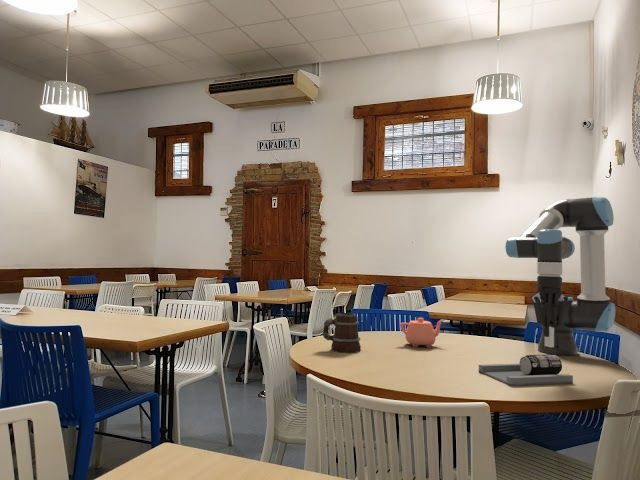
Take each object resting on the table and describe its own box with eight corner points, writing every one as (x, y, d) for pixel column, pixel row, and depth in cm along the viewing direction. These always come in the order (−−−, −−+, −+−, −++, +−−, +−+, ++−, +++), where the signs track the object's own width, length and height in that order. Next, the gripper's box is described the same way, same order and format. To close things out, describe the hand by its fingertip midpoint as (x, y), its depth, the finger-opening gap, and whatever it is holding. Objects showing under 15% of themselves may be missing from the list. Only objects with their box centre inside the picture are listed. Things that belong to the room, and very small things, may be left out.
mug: (356, 347, 202) (357, 312, 203) (362, 353, 190) (363, 315, 191) (320, 347, 200) (320, 311, 201) (324, 353, 188) (324, 315, 189)
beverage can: (548, 370, 162) (517, 371, 160) (550, 351, 162) (519, 352, 159) (562, 377, 156) (530, 378, 153) (564, 357, 156) (532, 358, 153)
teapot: (448, 348, 204) (449, 320, 205) (402, 348, 204) (403, 319, 204) (439, 343, 218) (439, 316, 218) (396, 342, 217) (396, 315, 217)
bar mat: (535, 370, 167) (535, 363, 167) (572, 383, 150) (572, 375, 150) (478, 371, 162) (478, 364, 163) (510, 385, 145) (510, 377, 145)
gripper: (558, 275, 164) (558, 344, 164) (525, 274, 162) (524, 344, 161) (574, 276, 157) (574, 348, 156) (539, 275, 154) (539, 349, 153)
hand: (549, 346), depth 159 cm, fingers closed
